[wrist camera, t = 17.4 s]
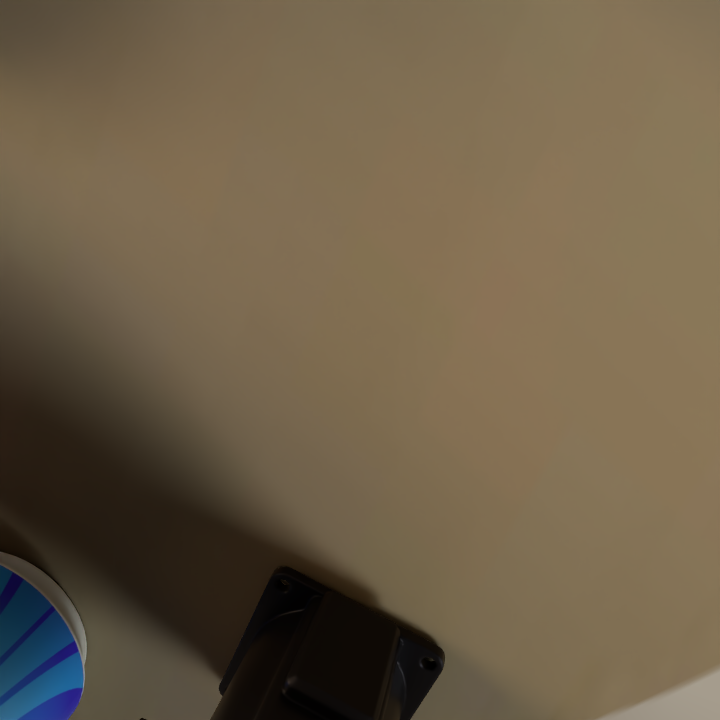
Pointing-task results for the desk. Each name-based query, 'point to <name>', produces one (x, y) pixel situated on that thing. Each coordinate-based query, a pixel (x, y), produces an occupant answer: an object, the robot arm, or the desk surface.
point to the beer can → (38, 645)
